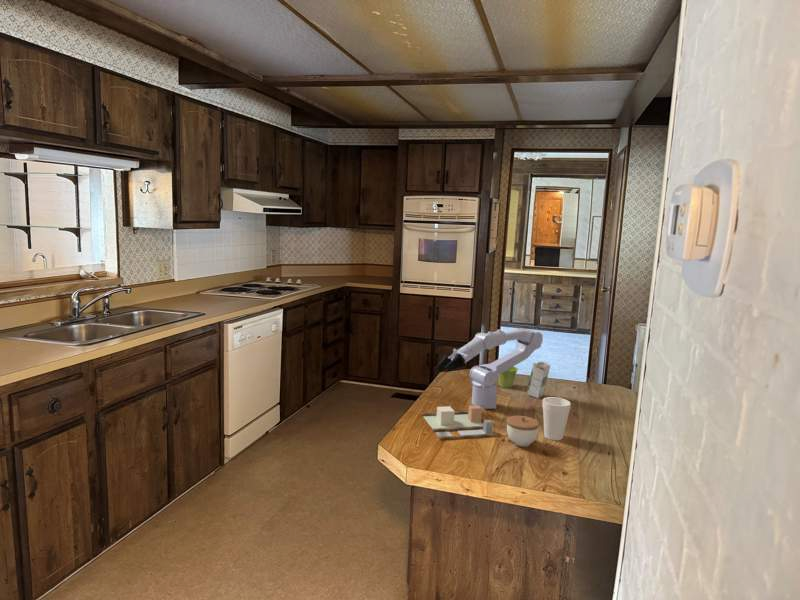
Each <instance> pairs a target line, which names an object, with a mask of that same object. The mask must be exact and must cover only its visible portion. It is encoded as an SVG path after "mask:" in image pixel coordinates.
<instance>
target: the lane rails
mask: <svg viewBox="0 0 800 600" xmlns="http://www.w3.org/2000/svg"><path fill="white" fill-rule="evenodd" d="M460 414H468V410H457V411H455V413H454V415H460ZM420 416H421V417H423V416H437V411H436V412H421V413H420ZM481 429H483V426H471V427H454V428H438V429H432V432H433V433H435V434H436V435H437V437H438V440H439V441H445V440H446V441H447V440H450V441H451V440H459V439H460V440H463V439H464V440H465V439H477V438H478V439H479V438H480V439H481V438H493V437H494V438H495V437H498V436H499V435H498V433H496V432H492V433H491V434H476V435H460V434H459V435H452V434H451V432H452V431H453V432H455V431H465V430H481Z"/></svg>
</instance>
